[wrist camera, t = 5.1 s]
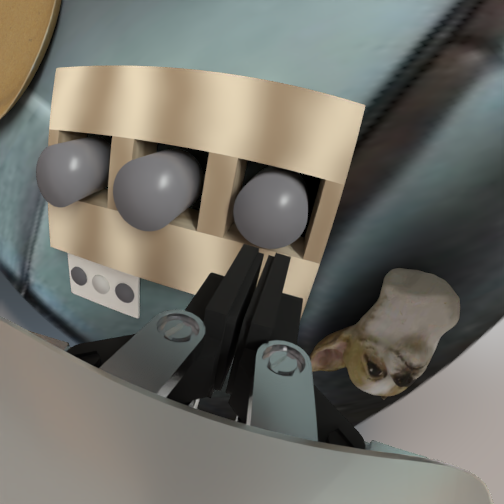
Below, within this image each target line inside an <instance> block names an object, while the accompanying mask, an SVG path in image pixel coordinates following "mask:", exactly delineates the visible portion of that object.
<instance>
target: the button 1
mask: <svg viewBox="0 0 504 504" xmlns="http://www.w3.org/2000/svg"><path fill="white" fill-rule="evenodd" d="M110 154H111V145H110V144H109V143H108V142H107V141H106V140H105V139H103V138H101V137H98V136H91V137H86V138H81V139H76V140H72V141H67V142H63V143H58V144H54V145H51V146H48V147H47V148H45V149H44V150H43V152H42V153H41V155H40V157H39V159H38V162H37V167H36V178H37V183H38V187H39V189H40V192H41V194H42V195H43V197H44V198H45V199H46V201H47V202H49V203H50V204H51V205H53V206H55V207H66V206H68V205H70V204H72V203H74V202H76V201H78V200H81V199H83V198H85V197H87V196H89V195H91V194H93V193H95V192H98V191H100V190H102V189H104V188H106V187H107V186H108V181H109V166H110Z"/></svg>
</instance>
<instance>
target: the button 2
mask: <svg viewBox="0 0 504 504" xmlns="http://www.w3.org/2000/svg"><path fill="white" fill-rule="evenodd" d="M308 196H309V195H308V188H307V185H306V183H305V181H304V179H303V178H302V177H301V176H300V175H299V174H298V173H297V172H295V171H291V170H287V169H283V168H279V167H275V166H269V167H266V168H264V169H262V170H260V171H259V172H258V173H257V174H256V175H255V176H254V177H253V178H252V179H251V180H250V181H249V182H248V183H247V184H246V185H245V186H244V188H243V189H242V190H241V191H240V192H239V194H238V196H237V198H236V200H235V203H234V209H233V215H234V220H235V224H236V226H237V228H238V230H239V232H240V233H241V234H242V235H243V236H244V238H245V239H247V240H248V241H249V242H251V243H252V244H254V245H256V246H259V247H262V248H267V249H277V248H282V247H285V246H288V245H290V244H291V243H293V242H294V241H296V240H297V239H298V238H299V237H300V235H301V234H302V233H303V231H304V229H305V227H306V224H307V218H308Z"/></svg>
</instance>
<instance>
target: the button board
mask: <svg viewBox="0 0 504 504" xmlns="http://www.w3.org/2000/svg"><path fill="white" fill-rule="evenodd" d="M364 109H365V105H363V104H360V103H357V102H353V101H350V100H347V99H343V98H340V97H336V96H332V95H329V94H325V93H321V92H317V91H313V90H309V89H305V88H301V87H297V86H292V85H288V84H283V83H278V82H273V81H268V80H263V79H257V78H251V77H246V76H239V75H233V74H226V73H218V72H210V71H202V70H192V69H181V68H168V67H151V66H81V67H64V68H56V74H55V81H54V88H53V96H52V104H51V114H50V126H49V142H48V146H51V145H54V144H58V143H63V142H67V141H72V140H76V139H81V138H86V137H87V133H92V134H101V135H109V136H112V143H111V154H110V166H109V181H108V189H105V188H104V189H102V190H100V191H98V192H95V193H93V194H91V195H89V196H87V197H85V198H83V199H81V200H78V201H76V202H74V203H72V204H70V205H68V206H66V207H55V206H53V205H51V204H50V203H49V202H48V215H49V232H50V244H51V247H53V248H56V249H59V250H61V251H64V252H67V253H70V254H72V255H75V256H78V257H81V258H84V259H86V260H89V261H92V262H95V263H98V264H101V265H104V266H107V267H109V268H112V269H115V270H118V271H121V272H124V273H127V274H130V275H133V276H136V277H140V278H143V279H146V280H149V281H152V282H155V283H158V284H162V285H165V286H168V287H171V288H174V289H178V290H181V291H184V292H188V293H191V294H194V295H196V293H197V292H198V290H199V289H200V287H201V286H202V284H203V283H204V281H205V280H206V278H207V277H208V275H209V274H210V273H216V274H219V275H223V276H225V275H226V273H227V271H228V270H229V268H230V266H231V265H232V263H233V261H234V259H235V258H236V256H237V254H238V253H239V251H240V249H241V248H242V246H243V244H247V245H250V246H254V247H257V248H259V252H260V253H263V254H264V257H263V261H262V265H261V269H260V273H259V277H258V281H259V279H260V276H261V274H262V271H263V268H264V266H265V263H266V261H267V258H268V256H269V255H271V256H274V257H275V254H276V253H279V254H283V255H286V256H290V257H291V259H290V263H289V268H288V272H287V276H286V280H285V284H284V288H283V292H282V293H285V294H289V295H292V296H296V297H300V298H303V304H302V311H301V317H302V314H303V311H304V308H305V305H306V303H307V300H308V297H309V294H310V291H311V288H312V286H313V283H314V280H315V277H316V274H317V271H318V268H319V265H320V262H321V259H322V256H323V253H324V250H325V247H326V244H327V240H328V237H329V234H330V231H331V228H332V225H333V221H334V218H335V215H336V212H337V208H338V205H339V202H340V198H341V195H342V191H343V188H344V184H345V181H346V177H347V174H348V170H349V167H350V163H351V159H352V156H353V152H354V148H355V145H356V141H357V137H358V133H359V129H360V125H361V121H362V117H363V113H364ZM158 143H163V144H169V145H175V146H180V147H186V148H191V149H197V150H202V151H207V152H209V156H208V162H207V168H206V174H205V180H204V186H203V193H202V199H201V206H200V211H199V210H195V209H191V208H187V209H186V210H185V211H184V212H182V213H181V214H180V215H179V216H177V217H176V218H175V219H174V220H173V221H171V222H170V223H169V224H168V225H166V226H165V227H164V228H162V229H159V230H156V231H142V230H139V229H136V228H134V227H133V226H131V225H130V224H128V223H127V222H126V221H125V220H124V219H123V218H122V216H121V215H120V213H119V212H118V210H117V208H116V205H115V202H114V198H113V184H114V180H115V177H116V175H117V173H118V171H119V170H120V169H121V168H122V166H123V165H125V164H126V163H127V162H129V161H131V160H134V159H137V158H140V157H143V156H146V155H150V154H153V153H156V152H157V145H158ZM248 160H250V161H254V162H258V163H263V164H267V165H271V166H275V167H279V168H283V169H287V170H291V171H295V172H299V173H303V174H307V175H310V176H314V177H318V178H321V180H320V184H319V188H318V191H317V195H316V199H315V202H314V206H313V209H312V213H311V217H310V220H309V224H308V227H307V231H306V234H305V237H301V236H300V237H299V238H298V239H297V240H296V241H294V242H293V243H291V244H290V245H288V246H285V247H282V248H277V249H267V248H262V247H259V246H256V245H254V244H252V243H251V242H249V241H248V240H247V239H245V238H244V236H243V235H242V234H241V233H240V232H239V230H238V228H237V226H236V224H235V220H234V215H233V209H234V203H235V200H236V198H237V196H238V194H239V192H240V191H241V190H242V186H243V181H244V176H245V171H246V167H247V162H248ZM258 281H257V284H258ZM256 286H257V285H256ZM300 319H301V318H300Z"/></svg>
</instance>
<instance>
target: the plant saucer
mask: <svg viewBox="0 0 504 504" xmlns="http://www.w3.org/2000/svg"><path fill="white" fill-rule="evenodd" d="M60 5H61V0H0V119H1V118H2V117H4V116H5V115H6V114H7V113H8V112H9V111H10V110H11V108H12V107H13V106H14V105H15V104H16V102H17V101H18V100H19V99H20V97H21V96H22V94H23V93H24V92H25V90H26V88H27V87H28V85H29V84H30V82H31V80H32V79H33V77H34V75H35V73H36V71H37V69H38V68H39V65H40V63H41V61H42V59H43V57H44V55H45V53H46V50H47V48H48V45H49V43H50V40H51V37H52V34H53V31H54V28H55V25H56V22H57V18H58V14H59V10H60Z"/></svg>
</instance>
